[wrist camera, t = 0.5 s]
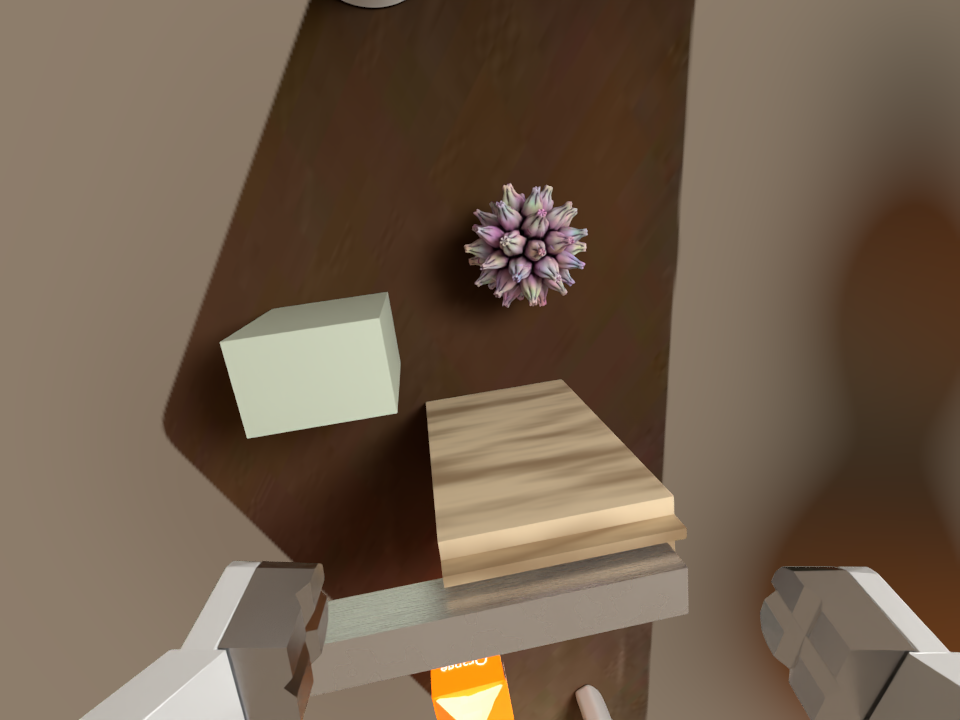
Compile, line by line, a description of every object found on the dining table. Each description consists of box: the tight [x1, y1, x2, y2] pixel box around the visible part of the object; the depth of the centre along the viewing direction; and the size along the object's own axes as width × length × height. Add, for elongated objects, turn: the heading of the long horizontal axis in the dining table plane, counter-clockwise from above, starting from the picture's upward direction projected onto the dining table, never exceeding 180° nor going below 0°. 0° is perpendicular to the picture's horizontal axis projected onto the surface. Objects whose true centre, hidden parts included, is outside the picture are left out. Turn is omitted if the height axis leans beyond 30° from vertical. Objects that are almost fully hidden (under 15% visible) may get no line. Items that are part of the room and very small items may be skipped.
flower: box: [464, 183, 588, 308], centre depth 48 cm, size 12×12×12 cm
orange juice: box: [431, 655, 514, 720], centre depth 56 cm, size 8×9×20 cm
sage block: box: [220, 292, 401, 439], centre depth 46 cm, size 8×12×15 cm, turn 97°
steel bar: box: [309, 542, 688, 697], centre depth 32 cm, size 4×24×4 cm, turn 97°
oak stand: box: [426, 379, 687, 588], centre depth 46 cm, size 9×16×28 cm, turn 97°
